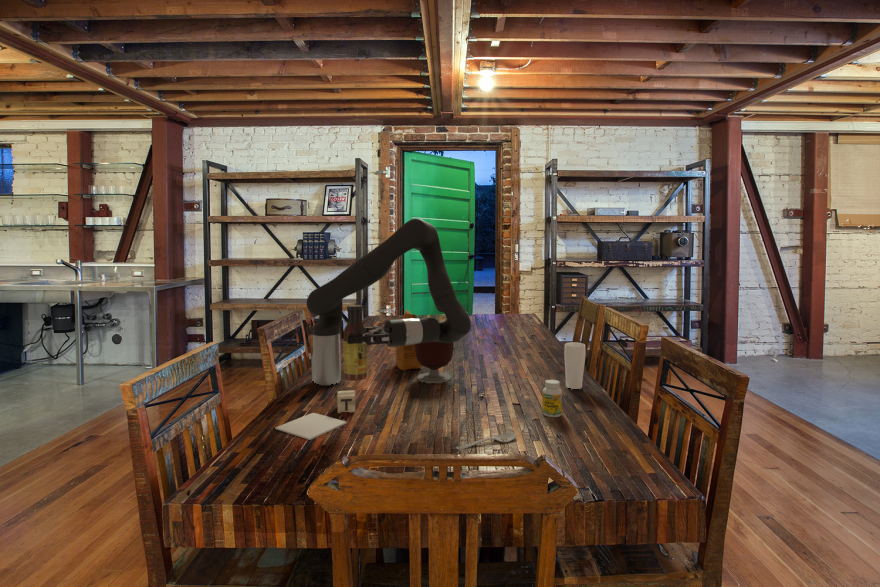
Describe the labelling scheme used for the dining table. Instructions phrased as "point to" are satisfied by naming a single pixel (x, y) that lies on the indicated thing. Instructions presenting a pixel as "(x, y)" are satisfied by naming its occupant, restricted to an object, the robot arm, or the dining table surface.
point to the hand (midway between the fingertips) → (344, 337)
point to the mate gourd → (434, 360)
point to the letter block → (346, 401)
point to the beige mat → (311, 426)
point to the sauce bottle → (354, 346)
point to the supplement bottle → (552, 399)
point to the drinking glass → (574, 364)
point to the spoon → (508, 436)
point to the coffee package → (407, 352)
